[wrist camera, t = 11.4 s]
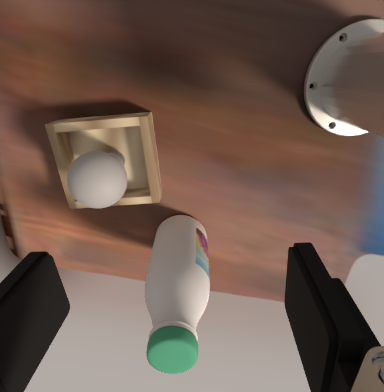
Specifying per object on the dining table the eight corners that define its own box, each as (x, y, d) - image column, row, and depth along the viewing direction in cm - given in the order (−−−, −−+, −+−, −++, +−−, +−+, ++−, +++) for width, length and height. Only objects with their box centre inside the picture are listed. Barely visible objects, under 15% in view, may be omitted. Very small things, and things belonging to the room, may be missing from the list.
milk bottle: (151, 249, 44) (120, 377, 25) (163, 207, 41) (138, 318, 22) (197, 261, 45) (200, 393, 26) (213, 220, 41) (228, 339, 23)
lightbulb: (119, 188, 39) (92, 229, 29) (84, 156, 37) (43, 189, 27) (149, 159, 37) (132, 193, 27) (114, 125, 35) (82, 147, 25)
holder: (151, 111, 35) (147, 116, 32) (162, 191, 40) (159, 202, 36) (58, 119, 35) (44, 124, 32) (79, 197, 40) (69, 208, 37)
